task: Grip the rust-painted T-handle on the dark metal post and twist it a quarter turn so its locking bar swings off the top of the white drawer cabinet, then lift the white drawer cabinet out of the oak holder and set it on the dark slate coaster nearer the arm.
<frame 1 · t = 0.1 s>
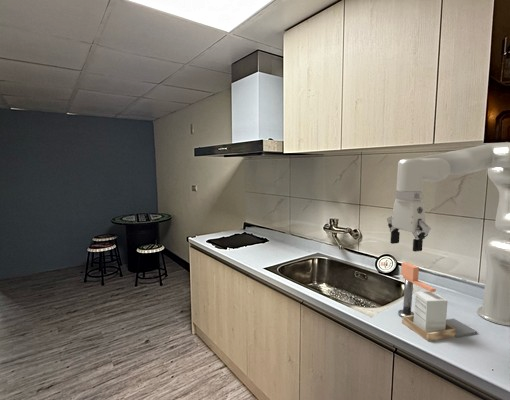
hand: (405, 246, 97), 31 cm above the counter, fingers open, 9 cm apart
holder: (427, 329, 103), on the counter
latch: (417, 276, 107), point 18 cm above the counter, hinge at 0.0°
coaster: (455, 328, 104), on the counter
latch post: (406, 315, 113), on the counter
white drawer cabinet: (428, 329, 103), resting in holder
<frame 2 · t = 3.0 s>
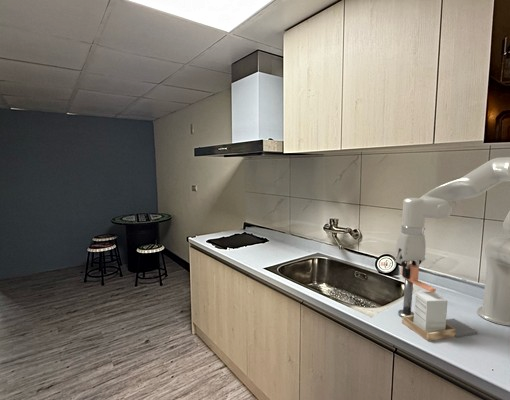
hand: (409, 276, 111), 16 cm above the counter, fingers closed on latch, 2 cm apart
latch: (417, 276, 107), point 18 cm above the counter, hinge at 0.0°, touching gripper
everything else where it was.
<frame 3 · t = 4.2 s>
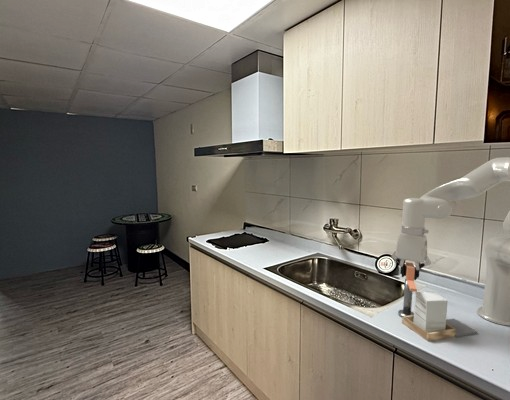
hand: (409, 277, 111), 16 cm above the counter, fingers closed on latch, 3 cm apart
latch: (411, 276, 107), point 18 cm above the counter, hinge at -35.5°, touching gripper
everything else where it was.
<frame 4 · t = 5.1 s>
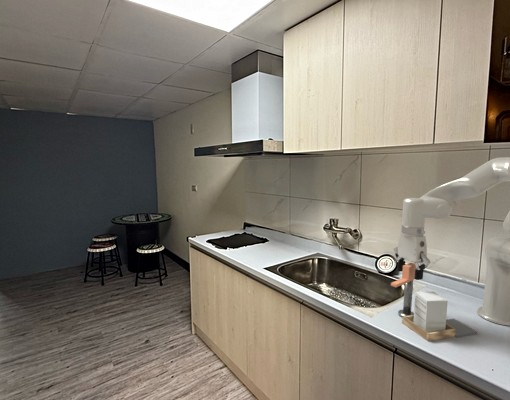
hand: (409, 274, 111), 17 cm above the counter, fingers open, 8 cm apart
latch: (404, 274, 109), point 17 cm above the counter, hinge at -70.2°
everything else where it was.
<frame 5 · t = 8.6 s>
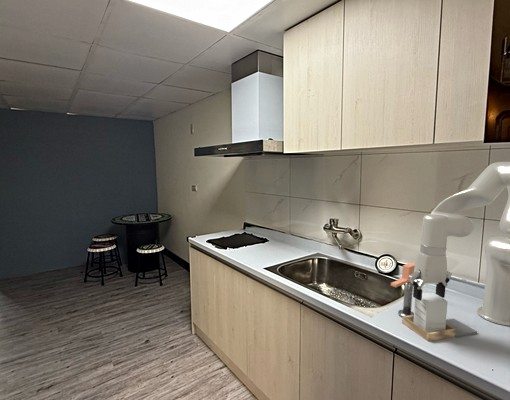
hand: (428, 297, 102), 12 cm above the counter, fingers open, 9 cm apart
white drawer cabinet: (428, 330, 103), resting in holder, touching gripper
everything else where it was.
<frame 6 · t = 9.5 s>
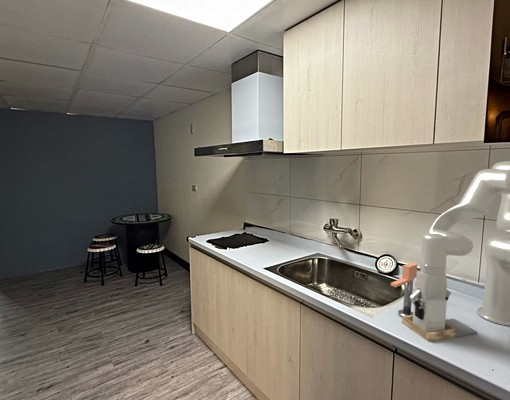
hand: (429, 315, 103), 5 cm above the counter, fingers closed on white drawer cabinet, 8 cm apart
white drawer cabinet: (427, 329, 103), resting in holder, touching gripper
everything else where it was.
when the fingers open (8 cm above the counter, at t = 16.8 s): white drawer cabinet drops 2 cm, resting on coaster.
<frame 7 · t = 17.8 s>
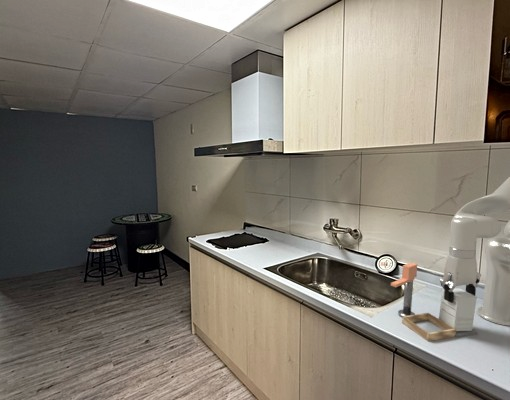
hand: (459, 298, 103), 11 cm above the counter, fingers open, 9 cm apart
white drawer cabinet: (454, 326, 104), point 1 cm above the counter, touching coaster
everything else where it was.
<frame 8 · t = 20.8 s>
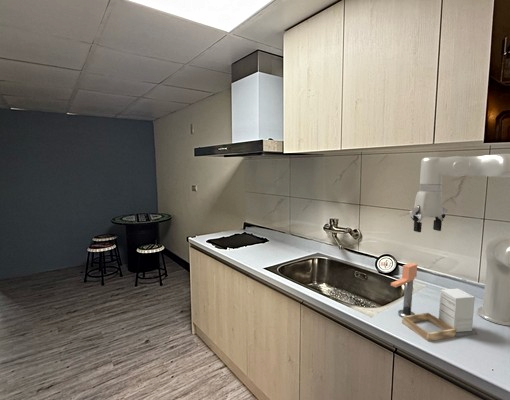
hand: (427, 231, 116), 32 cm above the counter, fingers open, 9 cm apart
nothing on the counter moved.
at the end: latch at -70° (first picture: +0°); white drawer cabinet inside the target area (0.2 cm from its centre), point 0.6 cm above the counter; white drawer cabinet tilted 0° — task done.
